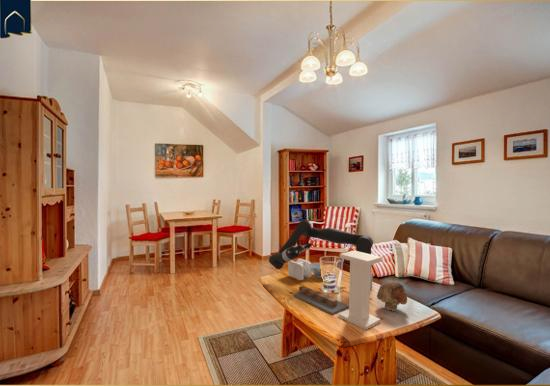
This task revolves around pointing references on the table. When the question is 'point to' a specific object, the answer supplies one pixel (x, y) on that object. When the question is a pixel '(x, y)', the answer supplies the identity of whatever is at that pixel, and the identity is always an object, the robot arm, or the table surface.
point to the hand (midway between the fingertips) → (306, 245)
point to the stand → (360, 289)
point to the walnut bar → (318, 296)
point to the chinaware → (316, 269)
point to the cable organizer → (299, 269)
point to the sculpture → (392, 294)
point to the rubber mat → (322, 304)
